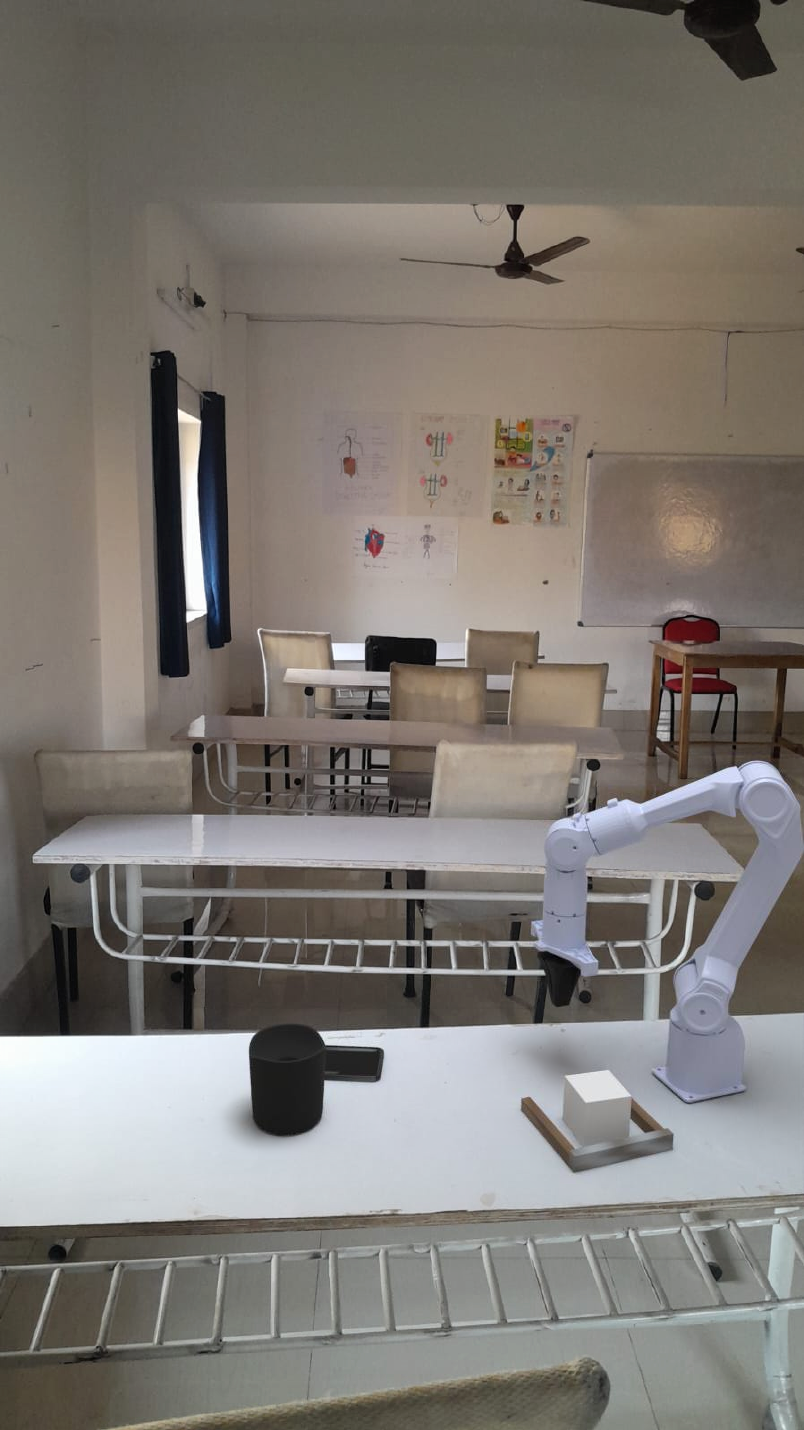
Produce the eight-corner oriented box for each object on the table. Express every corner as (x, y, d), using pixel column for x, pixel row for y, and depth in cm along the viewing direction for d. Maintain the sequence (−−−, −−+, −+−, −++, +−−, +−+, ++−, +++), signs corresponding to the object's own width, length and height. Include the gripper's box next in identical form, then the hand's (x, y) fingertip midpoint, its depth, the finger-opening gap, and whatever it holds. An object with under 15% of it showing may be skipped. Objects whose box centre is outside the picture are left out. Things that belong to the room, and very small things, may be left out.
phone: (278, 1043, 136) (384, 1047, 136) (278, 1050, 137) (384, 1054, 136) (267, 1073, 129) (380, 1077, 128) (268, 1080, 129) (380, 1085, 128)
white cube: (628, 1141, 117) (631, 1096, 115) (583, 1148, 115) (585, 1102, 114) (605, 1113, 122) (608, 1069, 121) (562, 1119, 121) (564, 1075, 120)
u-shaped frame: (612, 1090, 127) (613, 1076, 127) (672, 1149, 115) (673, 1133, 115) (520, 1109, 123) (521, 1094, 122) (573, 1172, 110) (574, 1156, 110)
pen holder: (339, 1106, 123) (339, 1033, 121) (301, 1147, 114) (300, 1069, 112) (275, 1088, 126) (275, 1017, 125) (234, 1126, 118) (233, 1051, 116)
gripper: (513, 894, 134) (509, 985, 137) (565, 933, 121) (561, 1034, 123) (557, 888, 137) (553, 978, 139) (614, 926, 123) (609, 1025, 126)
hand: (560, 1004), depth 131 cm, fingers closed
